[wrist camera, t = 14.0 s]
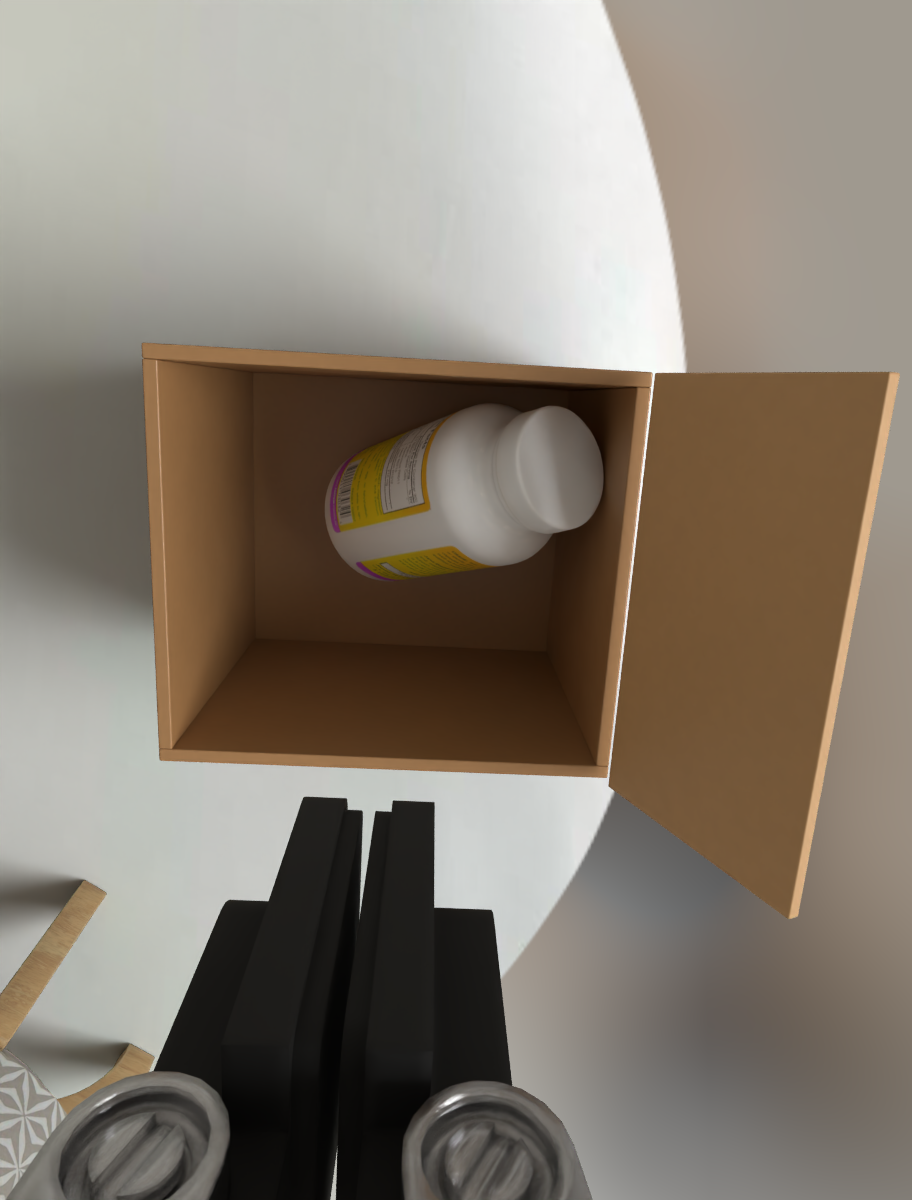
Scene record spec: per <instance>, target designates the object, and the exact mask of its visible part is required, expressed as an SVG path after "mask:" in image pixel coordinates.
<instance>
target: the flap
mask: <svg viewBox="0 0 912 1200" xmlns="http://www.w3.org/2000/svg"><path fill="white" fill-rule="evenodd" d="M899 376H900V374H899V373H895V372H783V373H782V372H779V373H778V372H777V373H776V372H774V373H656V374H655V381H654V390H653V399H652V407H651V416H650V425H649V434H648V443H647V451H646V460H645V469H644V478H643V487H642V495H641V504H640V513H639V522H638V531H637V539H636V548H635V557H634V566H633V575H632V583H631V592H630V601H629V610H628V619H627V628H626V636H625V645H624V654H623V663H622V672H621V680H620V689H619V698H618V707H617V716H616V724H615V733H614V742H613V751H612V760H611V768H610V777H609V787H610V788H611V789H613V790H614V791H615V792H617V793H618V794H620V795H621V796H622V797H624V798H625V799H626V800H628V801H629V802H630V803H632V804H633V805H634V806H636V807H637V808H638V809H640V810H641V811H643V812H644V813H645V814H647V815H648V816H649V817H651V818H652V819H653V820H655V821H656V822H657V823H659V824H660V825H662V826H663V827H664V828H666V829H667V830H668V831H670V832H671V833H672V834H674V835H675V836H676V837H678V838H679V839H680V840H682V841H683V842H684V843H686V844H687V845H689V846H690V847H691V848H693V849H694V850H695V851H697V852H698V853H699V854H701V855H702V856H704V857H705V858H706V859H707V860H709V861H710V862H712V863H713V864H714V865H716V866H717V867H718V868H720V869H721V870H722V871H724V872H725V873H727V874H728V875H729V876H731V877H732V878H733V879H735V880H736V881H737V882H739V883H740V884H741V885H743V886H744V887H745V888H747V889H748V890H749V891H751V892H752V893H753V894H755V895H756V896H758V897H759V898H760V899H762V900H763V901H764V902H766V903H767V904H768V905H770V906H771V907H773V908H774V909H775V910H777V911H778V912H779V913H781V914H782V915H783V916H785V917H786V918H788V919H791V918H794V917H797V916H798V912H799V907H800V901H801V896H802V891H803V886H804V880H805V875H806V870H807V864H808V859H809V854H810V848H811V843H812V838H813V833H814V827H815V822H816V817H817V811H818V806H819V801H820V795H821V790H822V784H823V779H824V774H825V769H826V763H827V758H828V753H829V748H830V742H831V737H832V732H833V726H834V721H835V716H836V710H837V705H838V700H839V695H840V689H841V684H842V679H843V673H844V668H845V663H846V657H847V652H848V647H849V641H850V636H851V631H852V626H853V620H854V615H855V610H856V604H857V599H858V594H859V588H860V583H861V578H862V572H863V567H864V562H865V556H866V551H867V546H868V540H869V535H870V529H871V525H872V519H873V514H874V509H875V503H876V498H877V493H878V488H879V482H880V477H881V472H882V466H883V461H884V456H885V450H886V445H887V440H888V434H889V429H890V424H891V419H892V413H893V408H894V402H895V397H896V391H897V387H898V381H899Z"/></svg>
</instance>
